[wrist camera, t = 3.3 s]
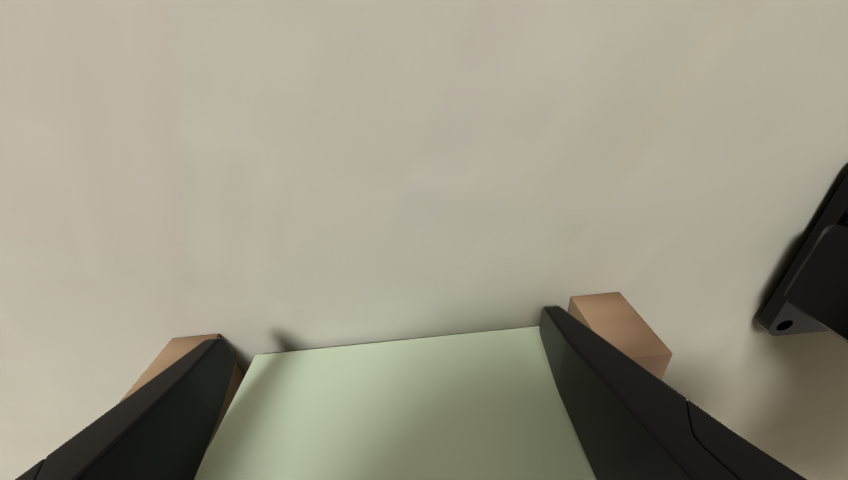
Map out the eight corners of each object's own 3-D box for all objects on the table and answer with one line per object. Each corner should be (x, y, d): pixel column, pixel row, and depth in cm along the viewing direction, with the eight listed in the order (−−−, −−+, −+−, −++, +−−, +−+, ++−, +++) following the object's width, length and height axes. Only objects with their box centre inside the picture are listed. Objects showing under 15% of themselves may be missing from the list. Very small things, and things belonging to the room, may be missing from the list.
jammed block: (540, 326, 11) (611, 476, 7) (528, 422, 14) (573, 563, 10) (255, 355, 11) (173, 516, 7) (305, 443, 14) (267, 590, 10)
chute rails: (618, 291, 11) (672, 353, 8) (565, 483, 18) (587, 543, 16) (172, 338, 11) (113, 409, 9) (298, 508, 18) (282, 570, 16)
